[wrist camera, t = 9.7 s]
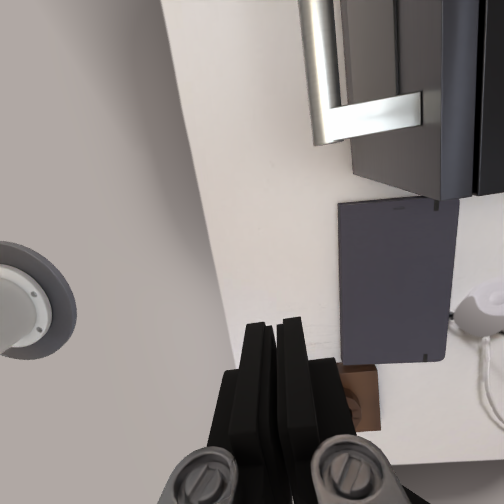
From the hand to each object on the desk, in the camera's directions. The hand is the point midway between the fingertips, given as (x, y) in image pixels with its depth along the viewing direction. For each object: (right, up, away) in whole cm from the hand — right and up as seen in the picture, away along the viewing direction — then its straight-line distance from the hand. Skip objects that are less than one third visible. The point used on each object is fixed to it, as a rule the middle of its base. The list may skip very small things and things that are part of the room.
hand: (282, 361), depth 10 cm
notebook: (+16, 0, +30) cm, 34 cm away
